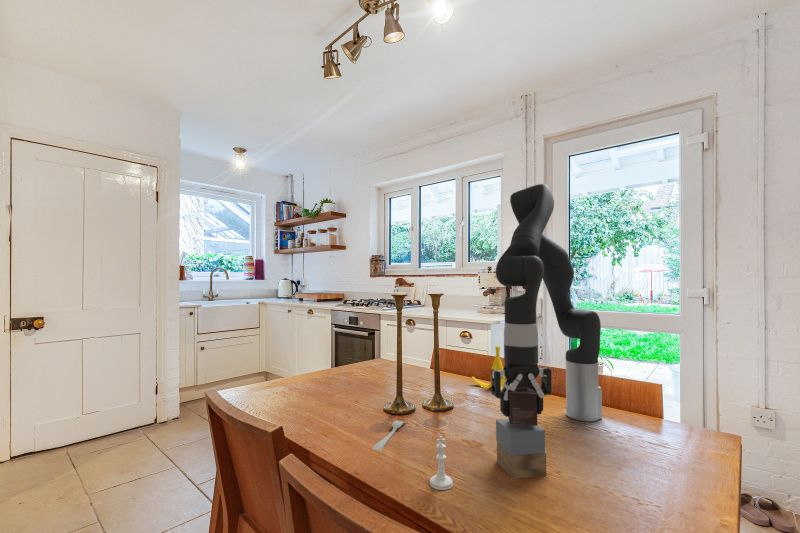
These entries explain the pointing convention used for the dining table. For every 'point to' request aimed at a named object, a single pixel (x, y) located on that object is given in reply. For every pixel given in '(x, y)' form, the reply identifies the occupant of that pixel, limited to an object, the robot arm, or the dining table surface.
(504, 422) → the tower top
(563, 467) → the dining table surface
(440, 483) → the chess piece
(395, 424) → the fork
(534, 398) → the box
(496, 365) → the banana peel
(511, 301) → the robot arm
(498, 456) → the tower bottom
